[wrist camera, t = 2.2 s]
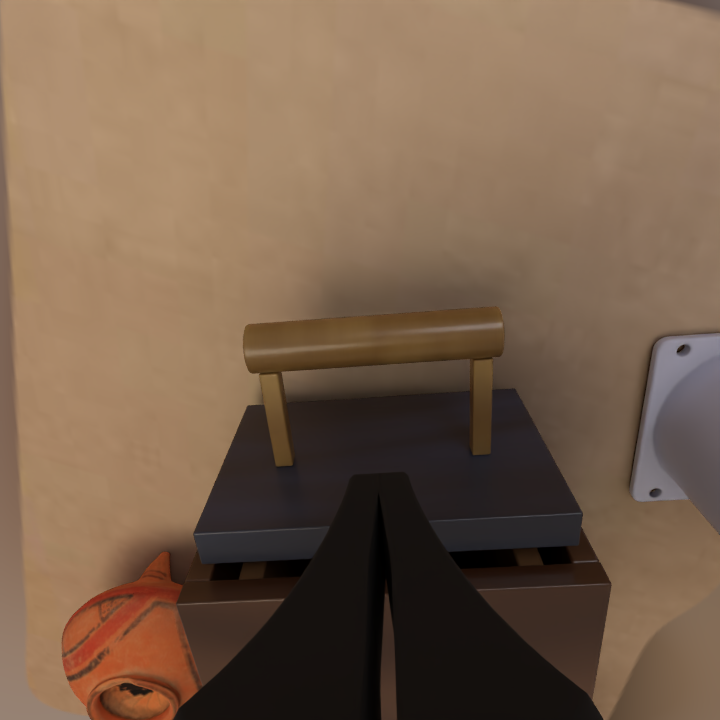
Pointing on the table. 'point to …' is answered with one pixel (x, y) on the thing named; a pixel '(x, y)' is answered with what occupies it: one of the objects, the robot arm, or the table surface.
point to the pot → (131, 650)
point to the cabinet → (496, 585)
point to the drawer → (385, 448)
